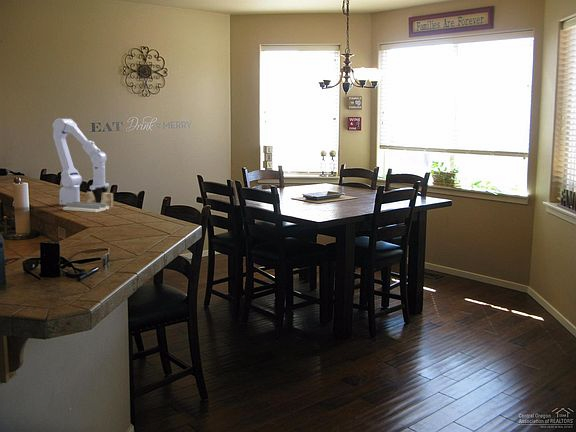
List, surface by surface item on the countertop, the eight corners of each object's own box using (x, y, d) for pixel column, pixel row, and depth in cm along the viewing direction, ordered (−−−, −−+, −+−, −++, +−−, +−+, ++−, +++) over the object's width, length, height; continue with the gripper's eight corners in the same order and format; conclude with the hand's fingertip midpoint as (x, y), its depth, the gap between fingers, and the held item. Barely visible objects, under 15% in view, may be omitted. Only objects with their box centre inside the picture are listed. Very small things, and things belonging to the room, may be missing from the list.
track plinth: (63, 209, 290) (62, 203, 290) (77, 206, 302) (77, 200, 301) (95, 212, 286) (95, 206, 286) (109, 208, 297) (109, 202, 297)
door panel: (86, 205, 306) (86, 192, 305) (89, 204, 308) (88, 191, 307) (110, 207, 303) (110, 193, 302) (113, 206, 305) (113, 193, 304)
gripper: (98, 177, 295) (98, 204, 297) (113, 175, 309) (114, 201, 311) (85, 176, 297) (86, 203, 299) (101, 174, 311) (102, 200, 313)
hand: (99, 202), depth 305 cm, fingers closed on door panel, 2 cm apart
